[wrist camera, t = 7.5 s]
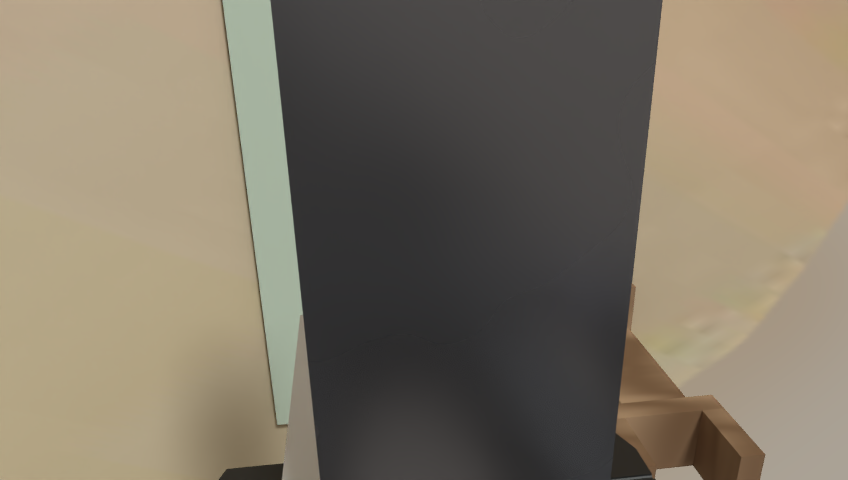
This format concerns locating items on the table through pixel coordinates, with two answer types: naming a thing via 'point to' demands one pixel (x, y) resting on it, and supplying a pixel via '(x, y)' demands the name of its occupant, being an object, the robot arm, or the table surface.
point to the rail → (465, 228)
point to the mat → (267, 185)
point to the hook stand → (679, 422)
